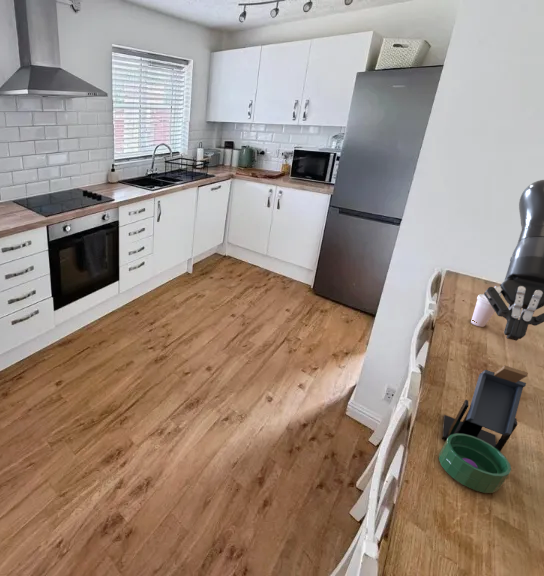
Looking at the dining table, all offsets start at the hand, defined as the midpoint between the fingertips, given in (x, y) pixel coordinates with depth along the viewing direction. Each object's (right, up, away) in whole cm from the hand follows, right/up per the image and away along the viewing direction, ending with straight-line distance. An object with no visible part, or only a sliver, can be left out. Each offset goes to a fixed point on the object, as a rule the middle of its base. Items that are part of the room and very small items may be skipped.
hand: (513, 338), depth 73 cm
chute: (-6, -13, -2) cm, 14 cm away
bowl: (-11, -25, -2) cm, 28 cm away
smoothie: (+37, -2, +51) cm, 64 cm away
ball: (-13, -24, -4) cm, 27 cm away
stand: (-5, -22, +5) cm, 23 cm away
